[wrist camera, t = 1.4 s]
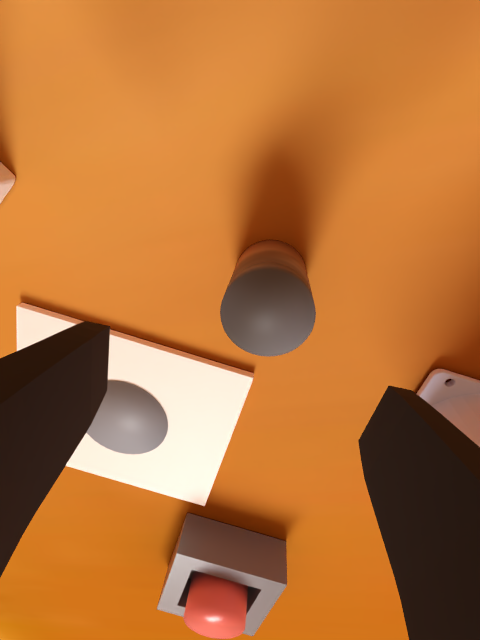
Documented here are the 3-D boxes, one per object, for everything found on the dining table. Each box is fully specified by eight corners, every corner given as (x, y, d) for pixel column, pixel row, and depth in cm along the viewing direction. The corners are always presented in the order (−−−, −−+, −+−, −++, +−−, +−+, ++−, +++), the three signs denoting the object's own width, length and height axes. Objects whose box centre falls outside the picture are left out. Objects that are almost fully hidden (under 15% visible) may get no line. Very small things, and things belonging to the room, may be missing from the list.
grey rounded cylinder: (317, 252, 17) (330, 287, 12) (291, 315, 18) (295, 367, 14) (246, 230, 17) (235, 256, 12) (227, 295, 18) (210, 340, 14)
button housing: (286, 541, 26) (287, 584, 24) (255, 593, 30) (252, 636, 27) (187, 512, 26) (176, 553, 23) (167, 568, 30) (156, 609, 27)
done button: (255, 575, 25) (253, 616, 23) (239, 604, 27) (235, 644, 25) (198, 559, 25) (191, 598, 23) (186, 589, 27) (177, 628, 25)
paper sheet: (253, 373, 20) (253, 379, 19) (206, 500, 25) (204, 507, 25) (22, 302, 20) (15, 306, 19) (22, 446, 25) (16, 452, 24)
